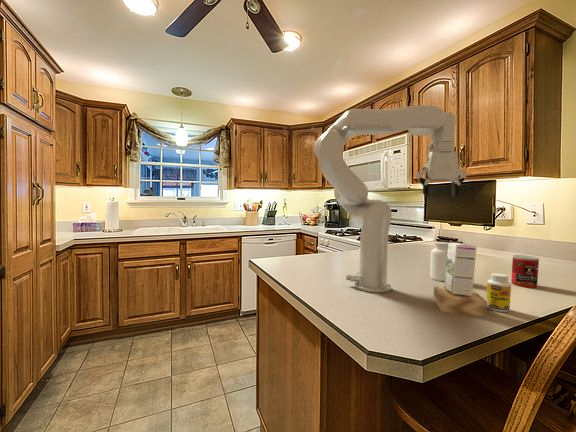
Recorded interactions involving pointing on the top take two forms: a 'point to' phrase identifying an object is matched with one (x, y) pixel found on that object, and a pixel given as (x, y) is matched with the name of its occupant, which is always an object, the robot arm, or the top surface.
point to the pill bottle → (439, 261)
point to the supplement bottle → (498, 293)
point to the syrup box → (460, 268)
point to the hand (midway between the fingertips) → (440, 196)
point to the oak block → (460, 302)
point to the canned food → (525, 271)
